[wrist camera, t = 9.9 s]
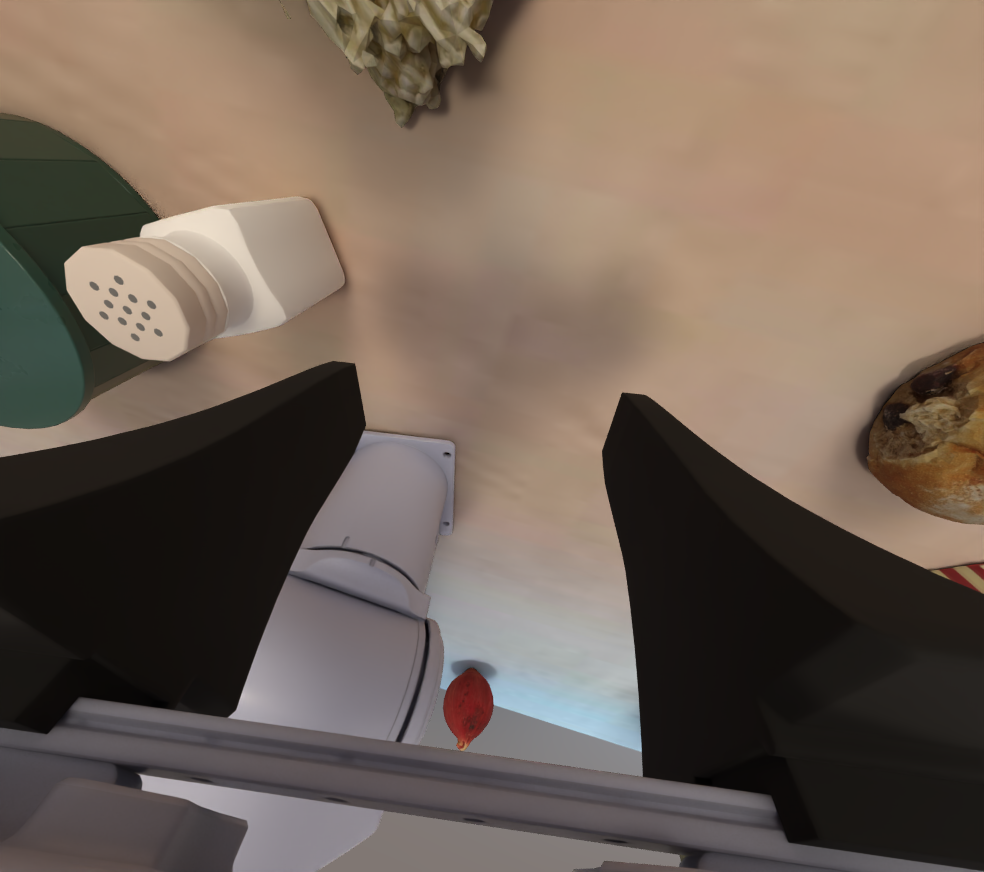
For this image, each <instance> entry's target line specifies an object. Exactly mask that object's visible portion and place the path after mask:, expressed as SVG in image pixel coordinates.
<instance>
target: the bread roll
mask: <svg viewBox="0 0 984 872" xmlns="http://www.w3.org/2000/svg"><path fill="white" fill-rule="evenodd" d="M868 450H869V455H868V457H867V458H866V459H867V460H868V468H869V470H870V472H871V473H872V474H873V475H874V476H875V477H876V478H877V479H878V480H879V481H880V482H881V483H882V484H883V485H884V486H885V487H886V488H887V489H888V490H889V491H891V492H892V493H893V494H895V495H896V496H899V497H900V498H901V499H903V500H904V501H905V502H906V503H908V504H909V505H911V506H913V507H914V508H917V509H919V510H921V511H924V512H926V513H928V514H931V515H934V516H937V517H940V518H944V519H947V520H950V521H954V522H960V523H965V524H979V525H984V342H983V343H980V344H977V345H974V346H971V347H969V348H967V349H965V350H963V351H961V352H959V353H957V354H955V355H953V356H951V357H949V358H948V359H946V360H944V361H942V362H940V363H938V364H936V365H934V366H931V367H929V368H927V369H924V370H922V371H921V372H920V373H919V374H918V376H917V377H916V378H914V379H912V380H911V381H909V382H907V383H904V384H902V385H901V386H900V387H899V388H898V389H897V390H896V391H895V393H894V394H893V396H892V397H891V398H890V399H889V400H888V402H887V403H886V404H885V405H884V406H883V408H882V410H881V412H880V413H879V415H878V416H877V418H876V419H875V421H874V424H873V427H872V429H871V432H870V438H869V448H868Z"/></svg>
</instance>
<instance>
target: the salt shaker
mask: <svg viewBox="0 0 984 872" xmlns="http://www.w3.org/2000/svg"><path fill="white" fill-rule="evenodd" d="M64 266H65V277H66V288H67V291H68V293H69V295H70V296H71V298H72V300H73V301H74V303H75V304H76V306H77V308H78V309H79V311H80V312H81V314H82V316H83V317H84V319H85V320H86V321H87V322H88V323H89V324H90V325H92V326H93V327H94V328H95V329H96V330H97V331H98V332H99V333H100V334H102V335H103V336H104V337H105V338H106V339H107V340H108V341H109V342H111V343H112V344H113V345H115V346H117V347H119V348H121V349H123V350H125V351H127V352H129V353H131V354H133V355H135V356H137V357H139V358H141V359H148V360H158V361H172V360H174V359H176V358H178V357H180V356H182V355H183V354H185V353H187V352H189V351H191V350H193V349H195V348H196V347H198V346H200V345H202V344H204V343H206V342H208V341H210V340H212V339H215V338H223V337H231V336H238V335H244V334H249V333H253V332H258V331H263V330H266V329H270V328H274V327H278V326H281V325H283V324H284V323H286V322H288V321H289V320H291V319H292V318H294V317H296V316H297V315H299V314H300V313H302V312H303V311H305V310H307V309H308V308H310V307H311V306H313V305H315V304H316V303H318V302H319V301H321V300H323V299H324V298H326V297H327V296H329V295H331V294H332V293H334V292H335V291H337V290H338V289H340V288H341V287H342V286H343V285H344V283H345V277H344V272H343V270H342V267H341V265H340V262H339V260H338V258H337V255H336V253H335V250H334V248H333V245H332V243H331V240H330V238H329V236H328V233H327V231H326V228H325V226H324V223H323V221H322V219H321V216H320V214H319V211H318V209H317V207H316V206H315V205H314V203H313V202H312V201H311V200H310V199H308V198H304V197H299V196H295V197H287V198H278V199H269V200H260V201H251V202H242V203H233V204H224V205H215V206H211V207H207V208H203V209H199V210H195V211H191V212H187V213H183V214H179V215H176V216H172V217H169V218H165V219H162V220H158V221H155V222H152V223H149V224H146V225H144V226H142V229H141V232H140V237H135V238H130V239H125V240H118V241H112V242H110V243H101V244H95V245H89V246H83V247H81V248H80V249H79V250H78V251H77V252H76V253H74V254H73V255H72V256H71V257H70V258H69V259H68V260H67V261H66V262H65V263H64Z"/></svg>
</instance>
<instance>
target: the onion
mask: <svg viewBox="0 0 984 872" xmlns="http://www.w3.org/2000/svg"><path fill="white" fill-rule="evenodd" d="M493 706H494V704H493V695H492V691H491V688H490V685H489V684H488V682H487V680H486V679H485V678H484V677H483V676H482V675H481V674H480V673H479V672H478V671H477V670H476V669H474V668H469V669H467V670H466V671H465V672H464V673H462V674H461V675H459V676H458V677H457V678H455V679H454V680H453V681H452V682H451V684H450V685H449V687H448V688H447V691H446V695H445V698H444V705H443V710H444V717H445V720H446V723H447V725H448V727H449V728H450V730H451V731H452V733H453V734H454V735H455V736H456V737H457V738H458V743H457V745H456V746H457V747H458V749H459V750H460V751H463V750H465V749H466V748H467V747H468V746H469V744H470V742H471V741H472V740H473V739H474V738H476V737H477V736H478V735H479V734H480V733H481V732H482V731H483V730H484V728H485V727H486V726H487V724H488V723H489V721H490V718H491V715H492V712H493Z"/></svg>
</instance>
